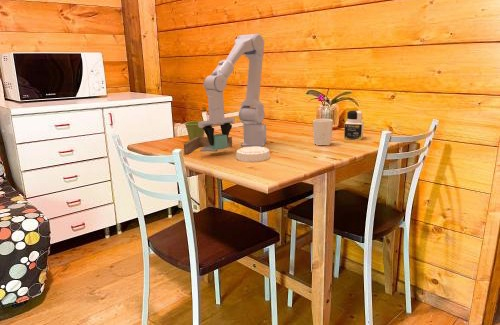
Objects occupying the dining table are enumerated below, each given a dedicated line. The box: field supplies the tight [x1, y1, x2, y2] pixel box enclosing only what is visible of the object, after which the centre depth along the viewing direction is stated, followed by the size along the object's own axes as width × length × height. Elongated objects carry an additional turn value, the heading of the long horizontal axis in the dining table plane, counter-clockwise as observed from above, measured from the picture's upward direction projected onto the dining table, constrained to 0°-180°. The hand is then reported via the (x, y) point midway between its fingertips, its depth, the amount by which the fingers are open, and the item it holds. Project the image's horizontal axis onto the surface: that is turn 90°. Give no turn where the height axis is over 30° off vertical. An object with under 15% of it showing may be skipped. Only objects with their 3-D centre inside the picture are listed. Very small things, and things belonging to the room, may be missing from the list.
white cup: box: [312, 118, 334, 146], centre depth 154 cm, size 8×8×10 cm
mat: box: [199, 147, 219, 152], centre depth 153 cm, size 7×7×1 cm
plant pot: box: [183, 120, 205, 141], centre depth 167 cm, size 9×9×9 cm
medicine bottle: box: [343, 110, 365, 141], centre depth 164 cm, size 7×7×12 cm
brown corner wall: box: [183, 136, 233, 155], centre depth 151 cm, size 15×15×4 cm
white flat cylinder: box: [235, 146, 271, 163], centre depth 137 cm, size 12×12×4 cm
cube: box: [210, 132, 229, 151], centre depth 144 cm, size 5×5×5 cm
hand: (218, 144), depth 144 cm, fingers closed on cube, 5 cm apart
